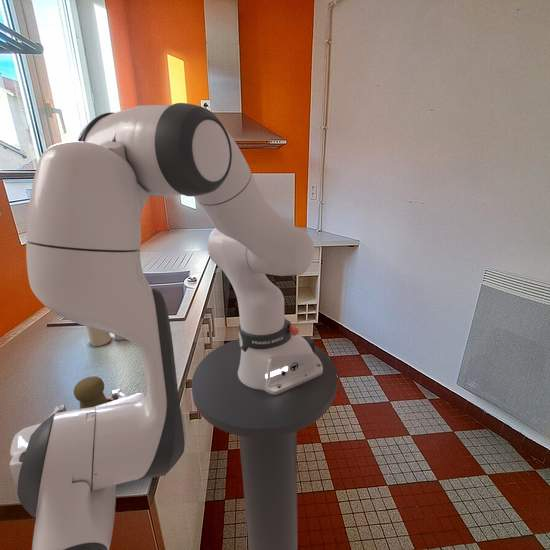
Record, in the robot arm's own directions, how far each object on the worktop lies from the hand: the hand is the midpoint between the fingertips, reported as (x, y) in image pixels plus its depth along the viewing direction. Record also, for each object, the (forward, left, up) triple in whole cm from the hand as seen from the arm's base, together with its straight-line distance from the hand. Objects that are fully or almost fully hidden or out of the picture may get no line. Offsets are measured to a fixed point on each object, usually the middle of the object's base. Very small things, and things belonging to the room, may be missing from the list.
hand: (89, 399), depth 59 cm
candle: (+6, -40, -9) cm, 42 cm away
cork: (0, -2, -8) cm, 9 cm away
